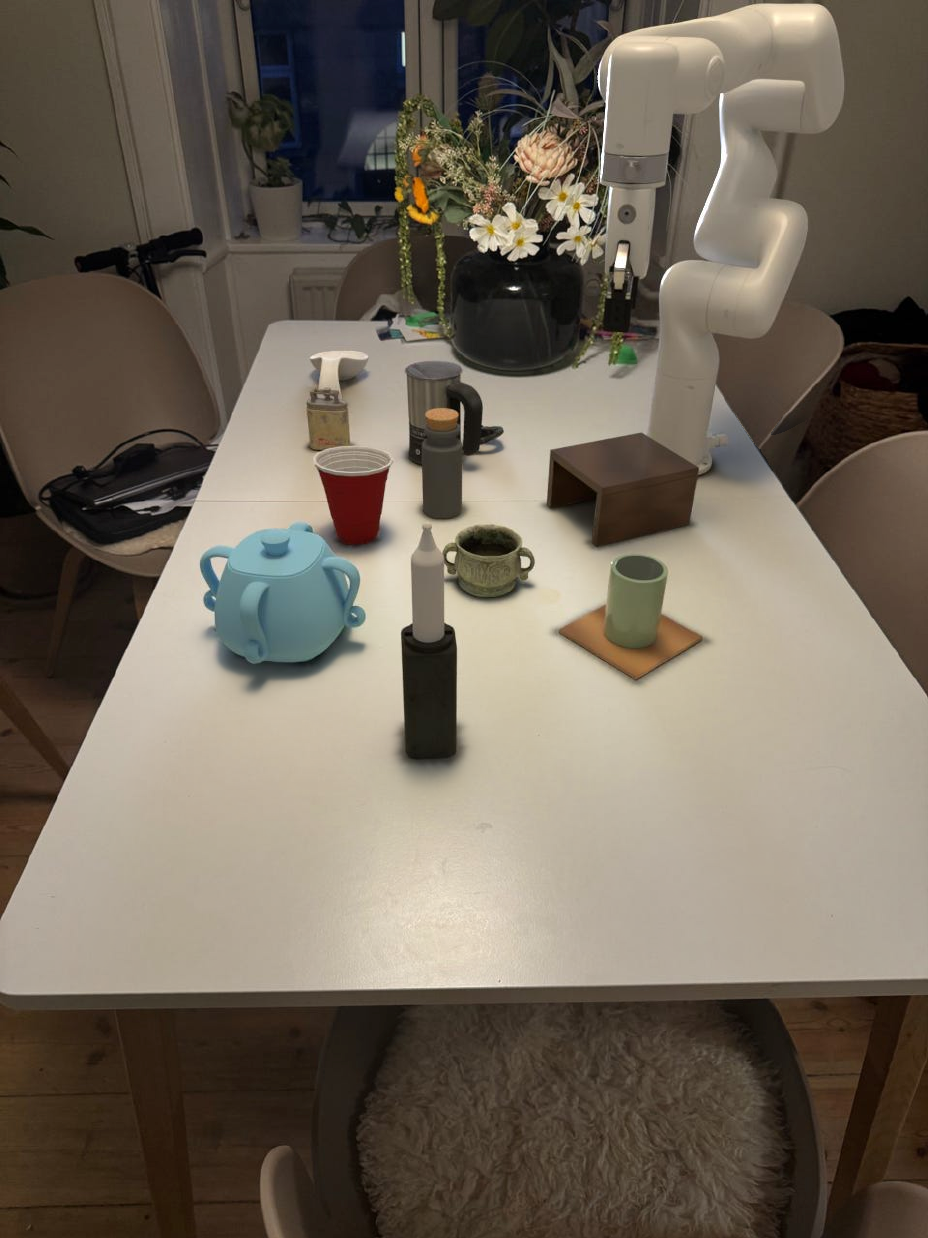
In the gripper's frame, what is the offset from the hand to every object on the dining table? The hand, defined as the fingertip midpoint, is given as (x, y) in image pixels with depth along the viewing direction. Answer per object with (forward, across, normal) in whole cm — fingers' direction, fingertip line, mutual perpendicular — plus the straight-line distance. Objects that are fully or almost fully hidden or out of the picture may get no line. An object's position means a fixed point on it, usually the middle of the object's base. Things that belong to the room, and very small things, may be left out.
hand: (619, 319), depth 111 cm
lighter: (+30, +16, +48) cm, 58 cm away
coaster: (+29, -28, -6) cm, 41 cm away
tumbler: (+28, -28, -6) cm, 40 cm away
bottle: (+29, -2, +23) cm, 37 cm away
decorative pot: (+28, -38, +33) cm, 58 cm away
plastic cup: (+29, -12, +33) cm, 46 cm away
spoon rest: (+30, +45, +57) cm, 79 cm away
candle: (+28, -52, +12) cm, 60 cm away
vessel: (+29, -20, +12) cm, 37 cm away
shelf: (+29, +3, -2) cm, 30 cm away
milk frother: (+30, +20, +27) cm, 45 cm away
